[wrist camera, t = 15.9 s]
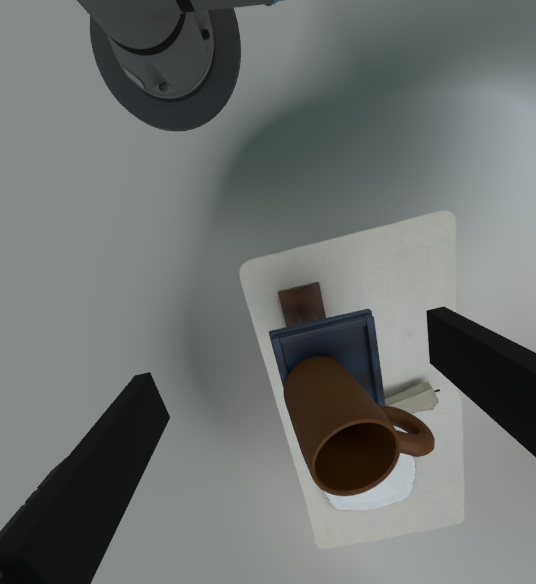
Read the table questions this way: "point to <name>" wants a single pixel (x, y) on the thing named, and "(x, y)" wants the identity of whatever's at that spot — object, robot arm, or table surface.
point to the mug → (347, 428)
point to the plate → (381, 489)
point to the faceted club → (414, 398)
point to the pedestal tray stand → (327, 338)
